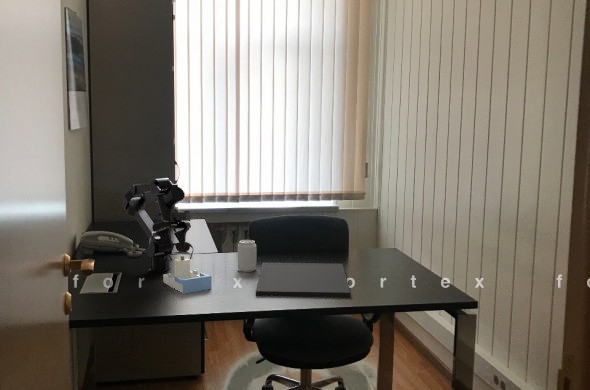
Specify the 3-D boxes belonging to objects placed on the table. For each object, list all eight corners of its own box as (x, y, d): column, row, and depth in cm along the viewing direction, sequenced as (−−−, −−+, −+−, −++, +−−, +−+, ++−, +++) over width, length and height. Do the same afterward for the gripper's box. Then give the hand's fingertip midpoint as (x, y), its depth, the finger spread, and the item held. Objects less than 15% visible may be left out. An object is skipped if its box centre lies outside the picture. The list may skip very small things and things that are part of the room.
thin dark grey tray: (342, 269, 259) (262, 268, 259) (342, 263, 259) (262, 262, 259) (349, 299, 219) (255, 297, 219) (350, 292, 219) (255, 291, 219)
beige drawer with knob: (175, 283, 234) (174, 256, 232) (186, 281, 236) (186, 254, 235) (179, 285, 231) (178, 258, 230) (190, 283, 234) (190, 256, 232)
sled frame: (163, 282, 235) (163, 269, 234) (190, 278, 241) (190, 265, 240) (183, 294, 220) (183, 280, 220) (211, 289, 227) (211, 275, 226)
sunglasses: (189, 251, 286) (189, 240, 286) (197, 259, 272) (197, 248, 271) (159, 253, 281) (158, 242, 280) (166, 261, 267) (166, 250, 266)
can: (253, 273, 249) (253, 243, 248) (235, 271, 251) (235, 242, 249) (258, 268, 256) (258, 239, 255) (240, 267, 258) (240, 238, 256)
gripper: (171, 201, 232) (182, 241, 229) (196, 203, 249) (207, 241, 247) (146, 210, 236) (157, 250, 233) (173, 212, 253) (183, 249, 250)
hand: (177, 247), depth 241 cm, fingers open, 9 cm apart
